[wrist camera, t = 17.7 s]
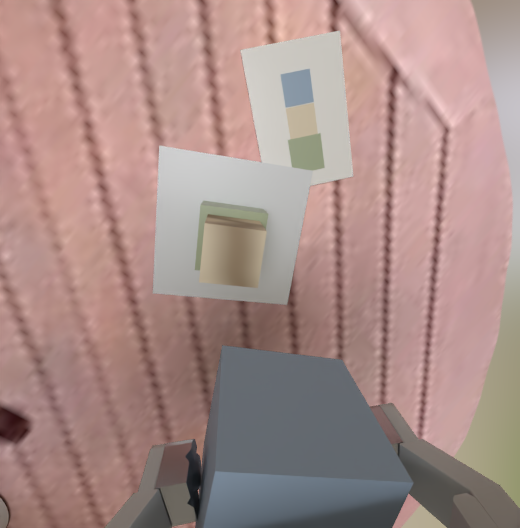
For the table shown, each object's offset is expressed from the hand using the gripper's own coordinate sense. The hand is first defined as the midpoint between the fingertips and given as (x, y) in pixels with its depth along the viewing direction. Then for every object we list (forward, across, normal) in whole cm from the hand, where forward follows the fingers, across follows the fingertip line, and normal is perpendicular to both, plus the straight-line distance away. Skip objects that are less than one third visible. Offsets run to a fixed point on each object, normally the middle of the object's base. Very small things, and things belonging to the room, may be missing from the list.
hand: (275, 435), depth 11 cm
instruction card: (+25, -8, -14) cm, 30 cm away
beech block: (+20, +1, -3) cm, 20 cm away
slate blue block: (+2, 0, 0) cm, 2 cm away
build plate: (+25, +1, -3) cm, 25 cm away
